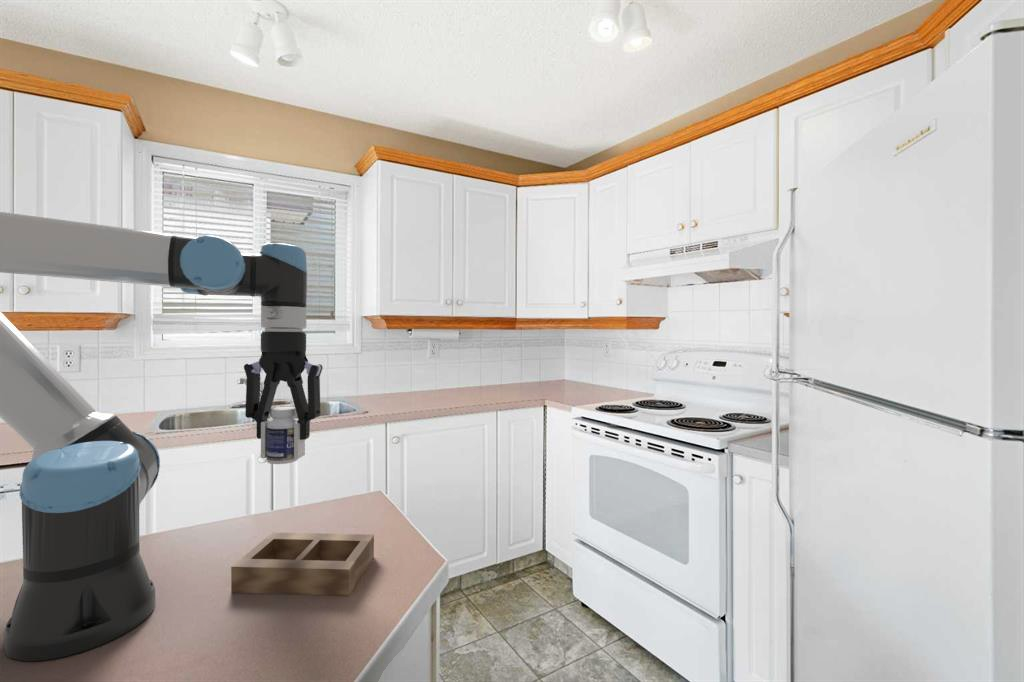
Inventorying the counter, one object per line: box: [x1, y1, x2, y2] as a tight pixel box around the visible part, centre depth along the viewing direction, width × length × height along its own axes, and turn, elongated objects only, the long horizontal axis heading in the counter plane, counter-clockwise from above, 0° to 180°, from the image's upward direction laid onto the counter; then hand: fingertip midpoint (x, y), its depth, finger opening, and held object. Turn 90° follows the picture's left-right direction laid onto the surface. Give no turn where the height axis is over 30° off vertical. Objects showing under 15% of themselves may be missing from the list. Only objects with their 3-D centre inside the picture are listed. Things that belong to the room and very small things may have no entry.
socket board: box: [230, 532, 375, 597], centre depth 78 cm, size 18×12×4 cm, turn 89°
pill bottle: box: [266, 406, 299, 465], centre depth 87 cm, size 5×5×10 cm
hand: (283, 456), depth 87 cm, fingers closed on pill bottle, 5 cm apart
